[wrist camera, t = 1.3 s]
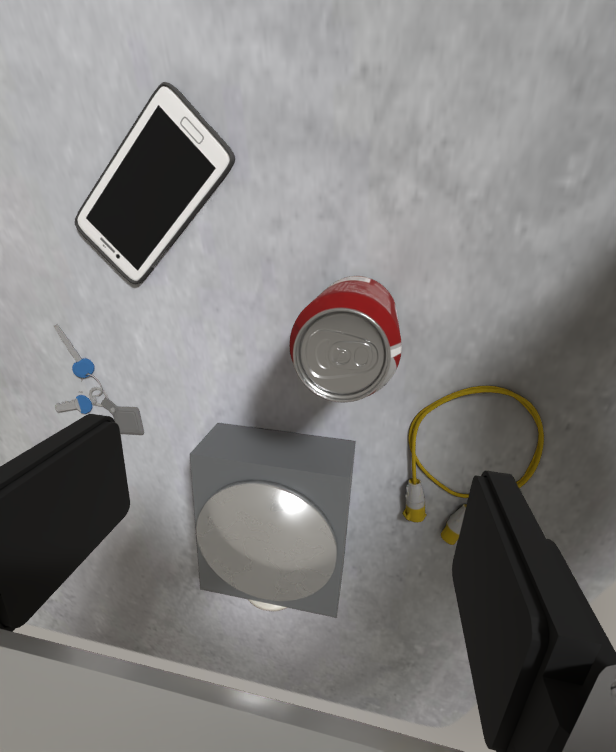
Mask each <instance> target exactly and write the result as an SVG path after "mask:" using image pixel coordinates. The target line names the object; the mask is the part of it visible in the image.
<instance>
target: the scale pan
mask: <svg viewBox="0 0 616 752" xmlns="http://www.w3.org/2000/svg"><path fill="white" fill-rule="evenodd" d="M196 534H197V541H198V544H199V548H200V550H201V552H202V555H203V556H204V558H205V560H206V561H207V563H208V564H209V566H210V567H211V568H212V569H213V570H214V572H215V573H216V574H217V575H218V576H220V577H221V578H222V579H223V580H224V581H225V582H227V583H228V584H230V585H231V586H233V587H234V588H236V589H238V590H240V591H242V592H244V593H246V594H249V595H251V596H254V597H257V598H261V599H266V600H272V601H291V600H297V599H301V598H304V597H307V596H309V595H312V594H313V593H315V592H317V591H318V590H320V589H321V588H322V587H323V586H324V585H325V584H326V583H327V582H328V580H329V579H330V577H331V575H332V574H333V571H334V568H335V564H336V558H337V540H336V536H335V532H334V529H333V527H332V525H331V523H330V521H329V520H328V518H327V517H326V515H325V514H324V513H323V512H322V510H321V509H320V508H319V507H318V506H317V505H316V504H315V503H314V502H313V501H312V500H310V499H309V498H308V497H306V496H305V495H303V494H302V493H300V492H298V491H297V490H295V489H293V488H290V487H288V486H286V485H283V484H280V483H277V482H272V481H267V480H243V481H237V482H234V483H231V484H228V485H226V486H224V487H222V488H221V489H219V490H217V491H216V492H215V493H214V494H213V495H212V496H211V497H210V498H209V500H208V501H207V502H206V504H205V505H204V507H203V508H202V510H201V512H200V514H199V517H198V520H197V527H196Z"/></svg>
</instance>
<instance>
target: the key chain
mask: <svg viewBox="0 0 616 752" xmlns="http://www.w3.org/2000/svg"><path fill="white" fill-rule="evenodd" d="M54 327H55V329H56V331H57V332H58V334H59V336H60V338H61V340H62V341H63V342H64V343H65V345H66V346H67V348H68V350H69V352H70V353H71V354H72V356H73V357H74V359H75V360H76V363H74V365H73V367H72V370H73V373H74V374H75V375H76V376H78V377H81V378H82V380H83V378H85V377H88V376H93V375H91V374H92V373H93V371H94V364H93V363H92V362H91V361H90V360H89V359H87V358H85V359H81V357H80V356H79V354H78V353H77V351H76V350H75V349H74V348H73V345H72V344H71V342H70V341H69V339H68V338H67V337H66V335H65V334H64V333H63V331H62V330H61V329H60V327H59V326H58V325H57V324H56V325H54ZM88 373H90V374H88ZM86 375H88V376H86ZM93 377H94V376H93ZM94 378H95V379H96V380H97V381H98V383H99V384H100V387H101V388H98V387H94V388H92V389H91V390H90V393H89V397H90V400H91V401H92V402H91V401H90V400H89V398H87V397H86V396H83V395H79V396H77V397H76V400H75V401H74V400H72V401H70V402H71V403H70V402H67V401H65V404H64V402H63V403H62V404H59V403H57V405H55V409H56V411H57V412H60V411H67V410H73V409H77V410H79V411H80V412H81V413H84V414H86V413H88V412H90V411H91V409H92V405H96V406H100V407H102V406H103V407H104V408H106V409H107V410H109V411H110V413H111V414H112V415H113V417H114V421H115V423H117V424H118V425H119V428H120V434H133V435H143V434H144V429H143V425H142V420H141V416H140V411H139V409H138V408H137V407H117V406H116V405H115V404H114V403H113V402H112V401H110V400H109V399H108V395H107V394H106V392H105V391H104V390H103V389H102V386H101V383H100V382H99V380H98V379H97V378H96V377H94ZM81 382H82V381H81ZM94 390H100V391H101V393H100V394H99V395H95V396H100V395H101V394H102V392H103V393H104V395H105V398H104V400H103V401H102V403H101V404H99V403H97V402H96V398H95V396H94V395H93V396H92V392H93V391H94ZM82 392H83V391H81V392H80V393H82ZM93 398H94V399H93ZM93 403H94V404H93Z"/></svg>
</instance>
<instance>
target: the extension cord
mask: <svg viewBox="0 0 616 752" xmlns="http://www.w3.org/2000/svg"><path fill="white" fill-rule="evenodd" d="M482 392H492V393H501V394H505V395H509V396H512V397H514V398H515V399H517V400H518V401H519V402H520V403H521V404H522V405H523V406H524V407H525V408H526V409H527V410H528V411H529V413H530V414H531V415H532V417H533V418H534V420H535V422H536V425H537V427H538V433H539V435H538V444H537V448H536V451H535V453H534V456H533V459H532V461H531V463H530V465H529V467H528V469H527V471H526V472H525V474H524V476H523V477H522V478H521V479H520V480H519V481H517V482H516V483H517V485H518V487H519V488H520V487H522V486H523V485H524V484H525V483H526V482H527V481H528V480H529V479H530V478H531V477H532V475H533V473H534V472H535V470H536V468H537V466H538V464H539V462H540V458H541V455H542V451H543V445H544V432H543V425H542V422H541V418H540V416H539V414H538V412H537V410H536V409H535V407H534V406H533V405H532V404H531V403H530V402H529V401H528V400H526V399H525V398H523V397H521V396H520V395H518V394H515V393H513V392H512V391H510V390H507V389H504V388H501V387H496V386H477V387H471V388H467V389H463V390H460V391H457V392H454V393H452V394H449V395H447V396H445V397H443V398H441V399H439V400H437V401H435V402H434V403H432V404H430V405H429V406H427V407H425V408H424V409H423V410H421V411H420V412H419V413H418V414H417V415H416V417H415V418H414V420H413V421H412V423H411V426H410V429H409V435H408V437H409V447H410V451H411V453H412V478H411V479H409V480H408V485H407V486H408V487H407V486H406V489H407V492H406V495H405V496H406V508H405V510H404V512H403V513H402V514H403V515H404V517H405V518H406V519H407V520H410V521H412V522H421V521H423V520H424V518H425V517H426V516H427V514H426V513H425V497H424V493H423V489H422V485H421V481H420V480H419V479H417V478H416V463H417V465H418V466H419V467H420V469H421V470H422V471H423V472H424V473H425V474H426V476H427V477H428V478H430V479H431V480H432V481H433V482H434V483H435V484H437V485H438V486H439V487H441V488H442V489H444V490H445V491H447V492H448V493H450V494H452V495H454V496H457V497H462V498H468V497H469V494H460V493H457V492H454V491H452V490H450V489H449V488H447V487H445V486H444V485H443V484H441V483H440V482H439V481H437V480H436V479H435V478H434V477H433V476H431V475H430V474H429V473H428V472H427V471H426V470H425V469H424V467H423V466H422V465H421V463H420V462H419V460H418V458H417V456H416V454H415V446H416V435H417V431H418V427H419V425H420V423H421V421H422V420H423V418H424V417H425V416H426V415H427V414H428V413H429V412H431V411H432V410H434V409H435V408H437V407H438V406H440V405H441V404H443V403H446V402H448V401H450V400H452V399H455V398H458V397H460V396H464V395H468V394H474V393H482ZM417 420H418V421H417ZM414 426H415V427H414ZM413 429H414V430H413ZM412 434H413V435H412ZM466 505H467V504H463V506H462V507H461V508H460V509H458V510H457V511H456V512H455V513H454V514H453V515H451V516H450V518H449V520H448V521H447V523H446V527H445V528H444V529H443V531H442V532H441V537H442V539H443V540H444V541H445V542H446V543H448V544H450V545H454V544H455V543H456V541H457V540H458V538H459V534H460V530H461V526H462V522H463V518H464V514H465V510H466Z"/></svg>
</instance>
